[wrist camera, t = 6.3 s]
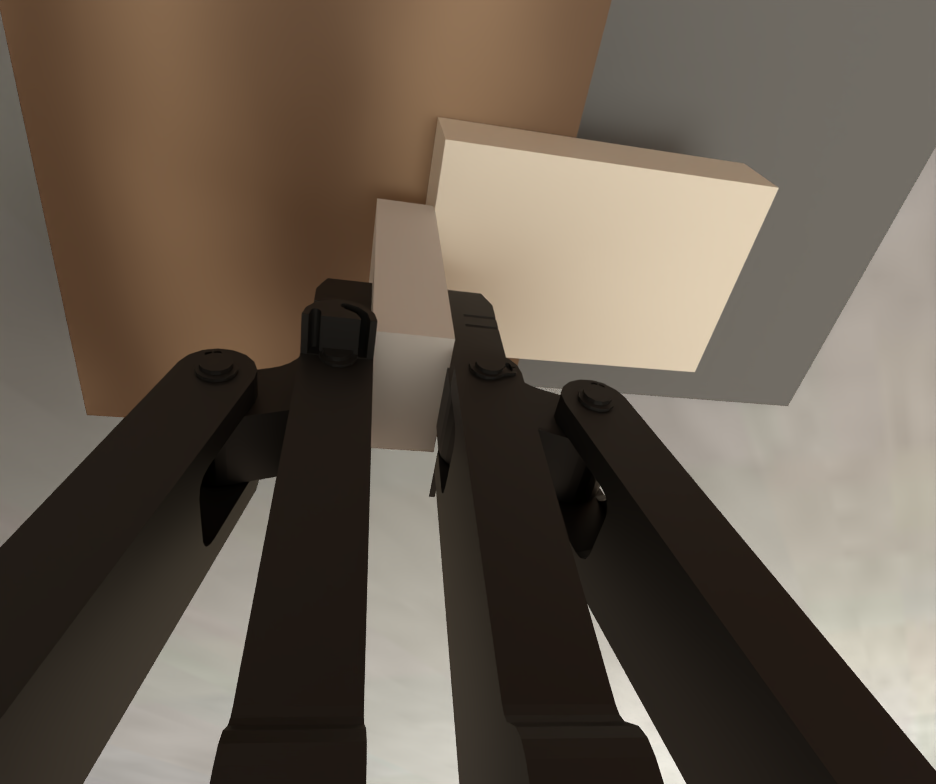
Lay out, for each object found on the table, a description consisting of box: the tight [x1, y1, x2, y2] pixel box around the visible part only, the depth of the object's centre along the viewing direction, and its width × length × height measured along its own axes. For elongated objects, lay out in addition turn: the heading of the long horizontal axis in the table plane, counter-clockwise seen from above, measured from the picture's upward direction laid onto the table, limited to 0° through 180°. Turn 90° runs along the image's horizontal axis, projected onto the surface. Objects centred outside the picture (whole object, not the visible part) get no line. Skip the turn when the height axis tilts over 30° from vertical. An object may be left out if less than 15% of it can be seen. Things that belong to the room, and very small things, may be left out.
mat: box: [518, 0, 936, 406], centre depth 24 cm, size 14×16×1 cm
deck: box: [0, 0, 612, 417], centre depth 20 cm, size 14×16×4 cm
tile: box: [426, 117, 779, 372], centre depth 19 cm, size 9×6×2 cm, turn 80°
